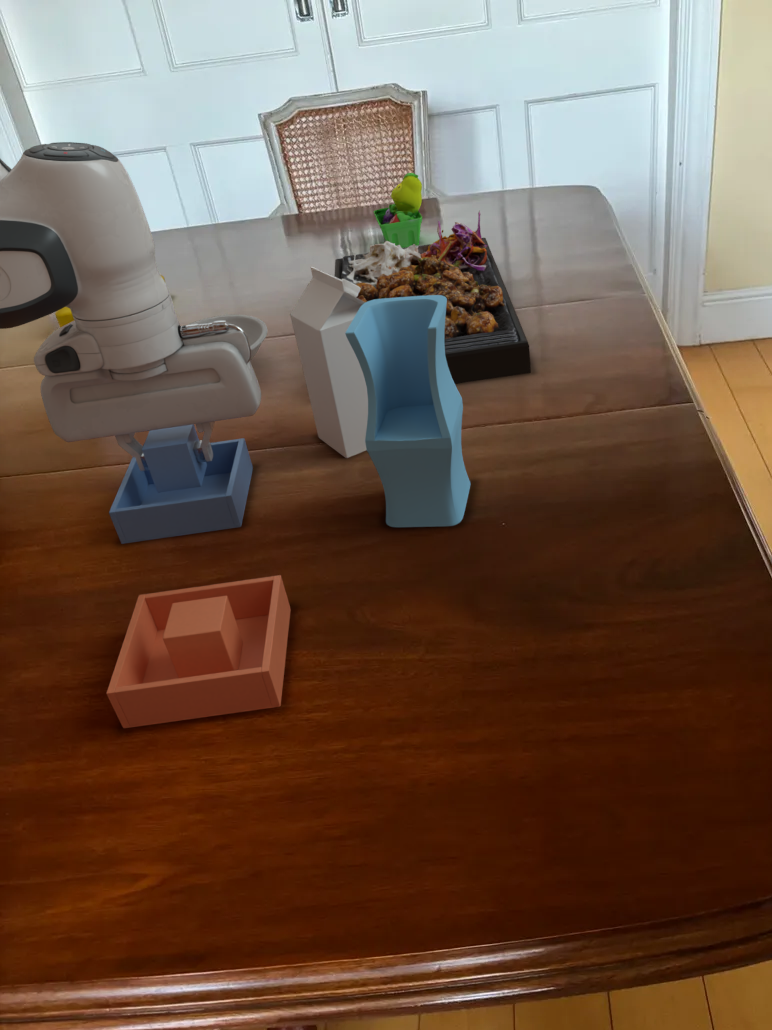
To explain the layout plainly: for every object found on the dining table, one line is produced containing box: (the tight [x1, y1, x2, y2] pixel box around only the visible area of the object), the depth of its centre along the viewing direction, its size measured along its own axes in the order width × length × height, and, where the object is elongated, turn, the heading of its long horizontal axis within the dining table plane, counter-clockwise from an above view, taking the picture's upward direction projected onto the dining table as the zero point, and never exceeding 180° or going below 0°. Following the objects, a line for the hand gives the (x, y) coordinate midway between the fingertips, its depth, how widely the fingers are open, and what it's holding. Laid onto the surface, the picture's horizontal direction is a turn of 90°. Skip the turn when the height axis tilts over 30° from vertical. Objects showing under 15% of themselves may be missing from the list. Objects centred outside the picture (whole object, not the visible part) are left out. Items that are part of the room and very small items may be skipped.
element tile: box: [54, 273, 167, 328], centre depth 145 cm, size 15×15×5 cm
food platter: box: [333, 210, 532, 385], centre depth 126 cm, size 45×25×10 cm, turn 5°
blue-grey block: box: [142, 424, 207, 493], centre depth 91 cm, size 4×4×5 cm
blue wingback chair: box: [345, 295, 471, 528], centre depth 83 cm, size 8×8×20 cm
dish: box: [187, 313, 268, 361], centre depth 122 cm, size 18×14×5 cm
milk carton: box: [289, 266, 368, 459], centre depth 97 cm, size 7×7×19 cm
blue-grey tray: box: [108, 437, 254, 545], centre depth 94 cm, size 12×12×4 cm
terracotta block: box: [163, 596, 243, 678], centre depth 72 cm, size 4×4×5 cm
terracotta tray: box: [106, 574, 292, 729], centre depth 72 cm, size 12×12×4 cm
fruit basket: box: [373, 172, 423, 248], centre depth 159 cm, size 11×9×11 cm
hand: (177, 463), depth 92 cm, fingers closed on blue-grey block, 4 cm apart
